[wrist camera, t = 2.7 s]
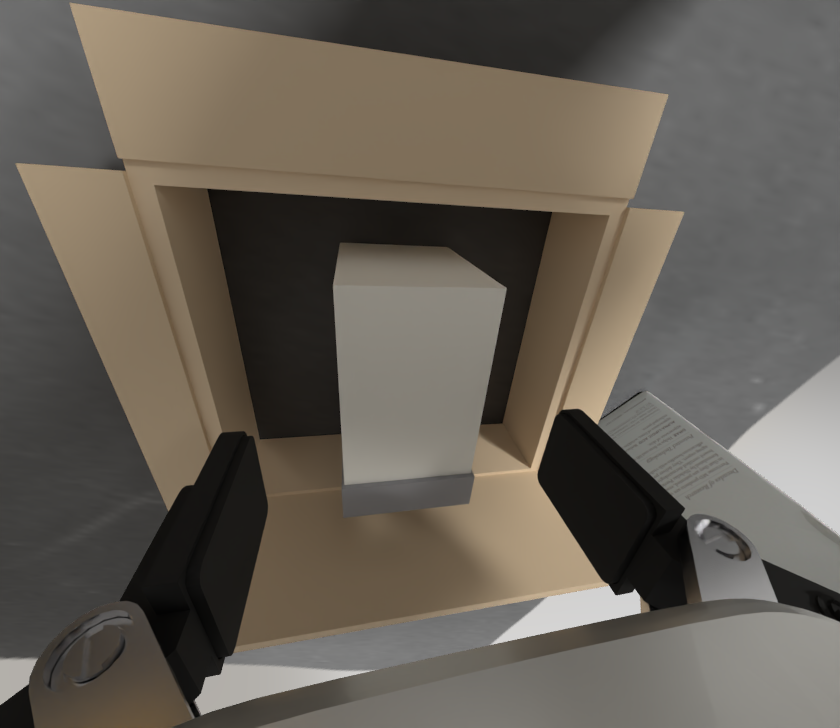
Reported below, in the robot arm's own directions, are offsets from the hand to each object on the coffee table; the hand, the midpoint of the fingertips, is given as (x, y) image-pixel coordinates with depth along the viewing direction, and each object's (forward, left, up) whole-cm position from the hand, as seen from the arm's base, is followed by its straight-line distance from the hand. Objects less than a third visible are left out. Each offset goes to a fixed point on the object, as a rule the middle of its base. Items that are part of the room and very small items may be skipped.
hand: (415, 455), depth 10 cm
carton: (-2, 0, -8) cm, 9 cm away
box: (0, 0, -9) cm, 9 cm away
